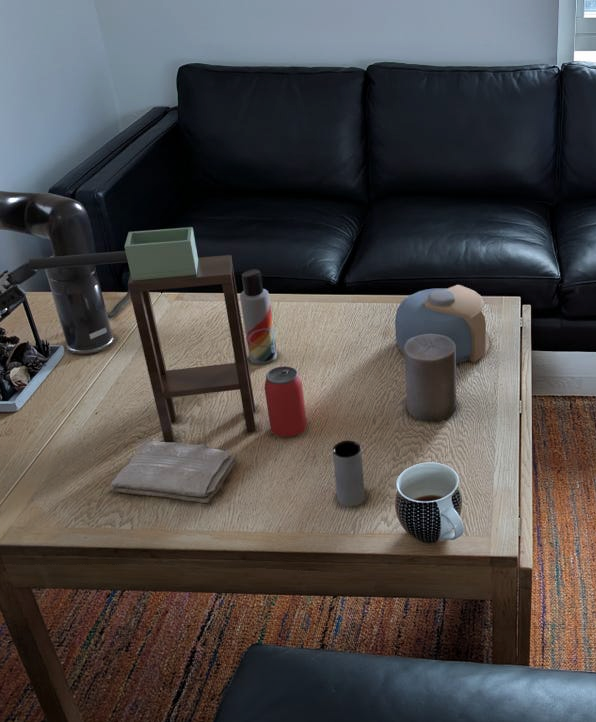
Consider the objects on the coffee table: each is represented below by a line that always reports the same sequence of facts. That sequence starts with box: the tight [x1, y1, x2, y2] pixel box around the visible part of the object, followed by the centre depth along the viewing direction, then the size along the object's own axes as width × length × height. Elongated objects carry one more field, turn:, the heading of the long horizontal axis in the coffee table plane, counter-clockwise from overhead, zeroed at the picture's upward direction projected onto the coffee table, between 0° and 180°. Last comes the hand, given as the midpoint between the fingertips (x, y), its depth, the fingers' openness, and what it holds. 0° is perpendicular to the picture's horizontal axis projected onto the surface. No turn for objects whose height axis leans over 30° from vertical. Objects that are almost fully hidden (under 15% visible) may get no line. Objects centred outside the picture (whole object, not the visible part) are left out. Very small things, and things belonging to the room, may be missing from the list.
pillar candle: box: [403, 334, 457, 422], centre depth 157 cm, size 10×10×15 cm
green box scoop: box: [28, 226, 199, 281], centre depth 134 cm, size 6×25×6 cm, turn 104°
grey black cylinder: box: [332, 439, 366, 508], centre depth 135 cm, size 4×4×10 cm
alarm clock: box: [394, 284, 490, 364], centre depth 178 cm, size 19×20×12 cm
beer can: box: [264, 365, 308, 439], centre depth 151 cm, size 7×7×12 cm
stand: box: [127, 254, 257, 443], centre depth 146 cm, size 8×16×32 cm, turn 104°
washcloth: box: [110, 440, 237, 504], centre depth 141 cm, size 12×18×3 cm, turn 82°
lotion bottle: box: [239, 268, 278, 365], centre depth 170 cm, size 6×6×20 cm
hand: (27, 277), depth 133 cm, fingers open, 8 cm apart
